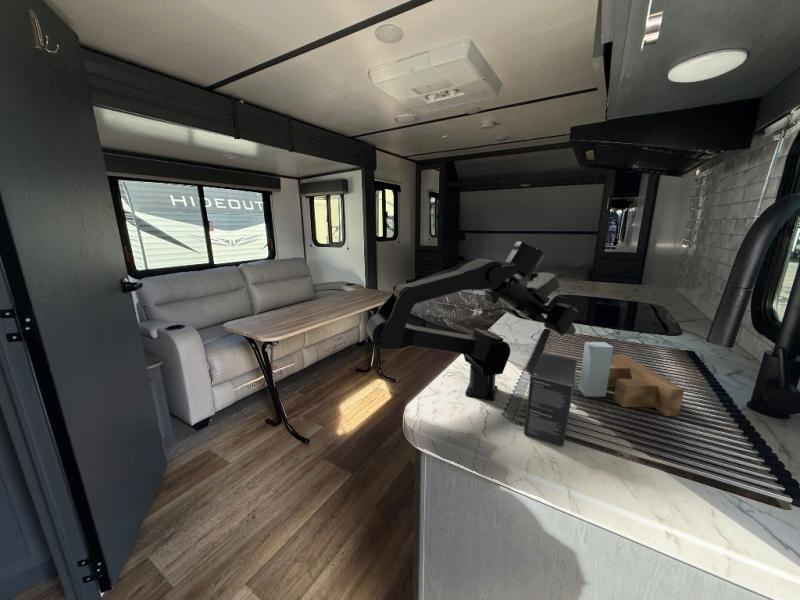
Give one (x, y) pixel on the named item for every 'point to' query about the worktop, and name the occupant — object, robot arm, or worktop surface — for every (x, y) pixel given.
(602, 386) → the post
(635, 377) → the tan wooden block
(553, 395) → the small box
